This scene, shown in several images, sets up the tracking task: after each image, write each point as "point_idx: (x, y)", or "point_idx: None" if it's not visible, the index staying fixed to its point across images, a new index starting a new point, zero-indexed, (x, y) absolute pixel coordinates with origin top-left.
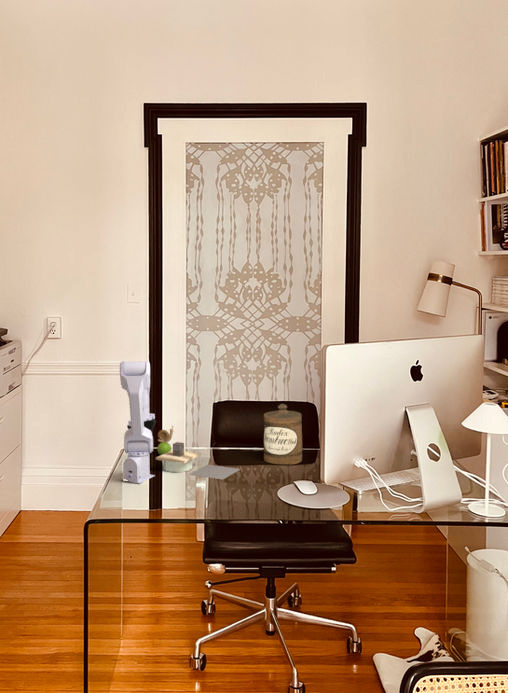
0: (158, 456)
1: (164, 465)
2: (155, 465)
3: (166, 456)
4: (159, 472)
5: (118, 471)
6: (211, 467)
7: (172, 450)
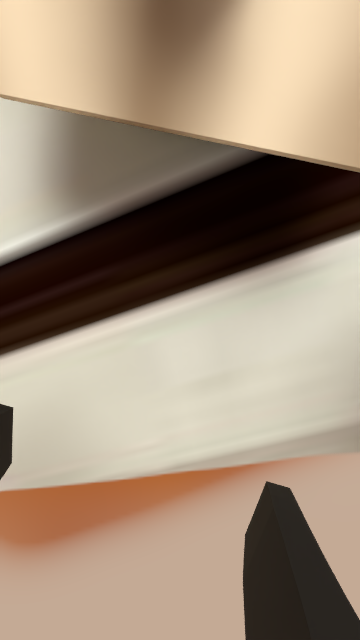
0: (325, 156)
1: None
2: (152, 256)
3: (313, 33)
4: None
5: (338, 448)
6: None
7: (16, 86)
